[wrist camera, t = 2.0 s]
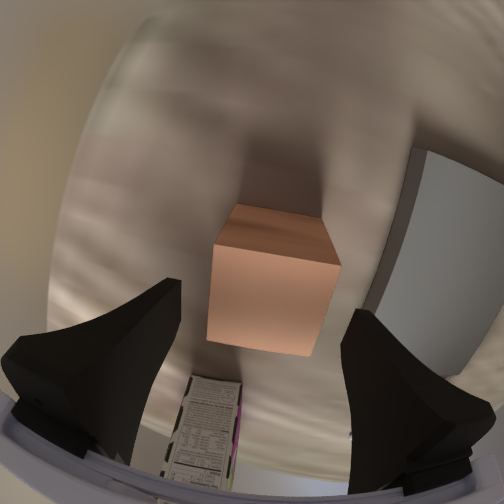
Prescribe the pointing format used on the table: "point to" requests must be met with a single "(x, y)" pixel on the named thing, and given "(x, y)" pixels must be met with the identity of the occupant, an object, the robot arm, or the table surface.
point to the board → (442, 262)
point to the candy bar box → (205, 435)
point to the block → (271, 280)
